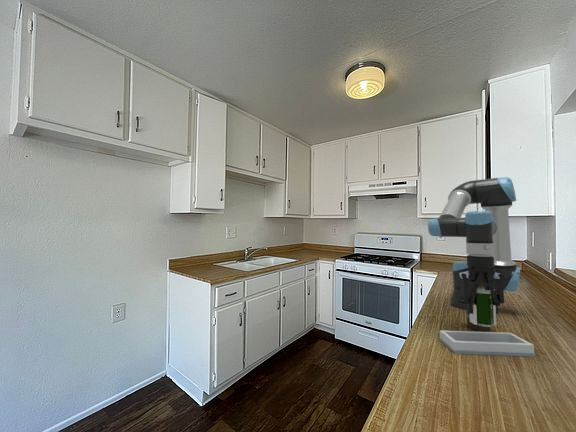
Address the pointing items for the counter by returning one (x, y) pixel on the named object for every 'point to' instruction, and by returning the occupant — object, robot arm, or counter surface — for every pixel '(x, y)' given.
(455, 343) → the tray
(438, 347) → the counter surface
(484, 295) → the beer can
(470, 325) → the beer bottle
